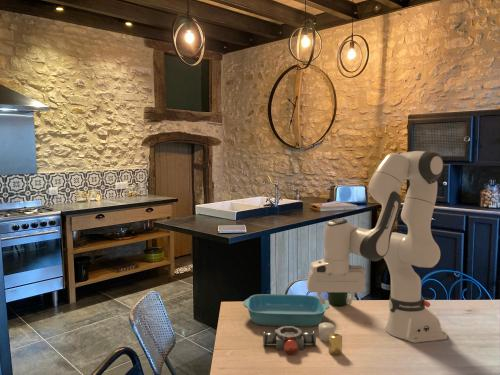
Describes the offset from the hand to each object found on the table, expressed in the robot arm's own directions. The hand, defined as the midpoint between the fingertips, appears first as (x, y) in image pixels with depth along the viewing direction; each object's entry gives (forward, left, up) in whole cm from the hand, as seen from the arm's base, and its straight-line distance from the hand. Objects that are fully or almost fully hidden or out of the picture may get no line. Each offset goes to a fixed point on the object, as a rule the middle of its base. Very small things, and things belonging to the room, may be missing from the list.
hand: (335, 303), depth 141 cm
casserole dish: (+15, -30, -19) cm, 38 cm away
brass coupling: (0, 0, -18) cm, 18 cm away
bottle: (-11, -46, -18) cm, 51 cm away
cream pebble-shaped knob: (+1, -11, -18) cm, 21 cm away
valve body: (+16, -4, -18) cm, 24 cm away
